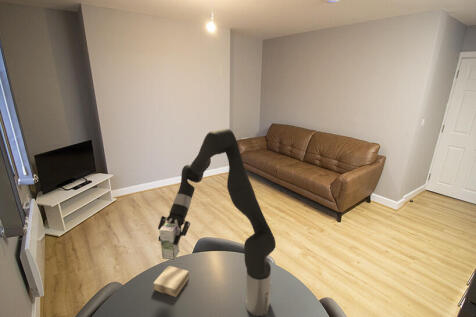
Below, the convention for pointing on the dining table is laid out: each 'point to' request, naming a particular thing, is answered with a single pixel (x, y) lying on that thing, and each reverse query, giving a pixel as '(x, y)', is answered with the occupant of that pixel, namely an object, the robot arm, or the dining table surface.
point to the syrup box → (169, 241)
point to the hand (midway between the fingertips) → (167, 243)
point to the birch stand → (171, 281)
